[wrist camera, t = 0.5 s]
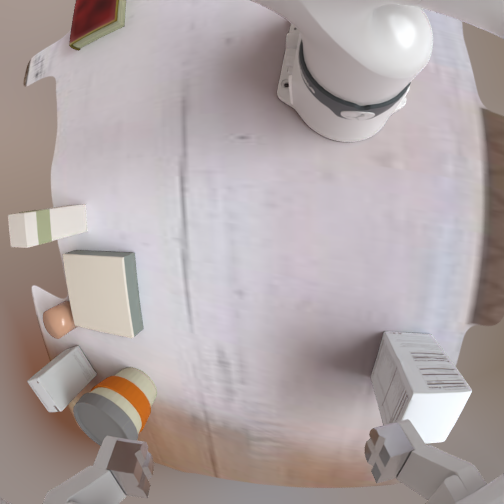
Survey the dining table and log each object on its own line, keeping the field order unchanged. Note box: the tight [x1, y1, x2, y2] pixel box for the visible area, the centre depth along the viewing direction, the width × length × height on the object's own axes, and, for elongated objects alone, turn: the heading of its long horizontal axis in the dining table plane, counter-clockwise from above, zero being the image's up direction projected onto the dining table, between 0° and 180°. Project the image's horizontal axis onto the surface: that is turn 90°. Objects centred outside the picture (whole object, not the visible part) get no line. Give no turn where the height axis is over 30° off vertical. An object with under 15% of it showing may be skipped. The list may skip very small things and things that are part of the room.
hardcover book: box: [69, 0, 126, 50], centre depth 37 cm, size 12×21×4 cm, turn 7°
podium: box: [63, 250, 143, 338], centre depth 49 cm, size 14×14×4 cm
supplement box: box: [371, 331, 472, 444], centre depth 35 cm, size 10×9×17 cm
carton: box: [8, 204, 87, 248], centre depth 42 cm, size 5×5×15 cm
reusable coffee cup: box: [73, 367, 157, 446], centre depth 47 cm, size 12×13×15 cm
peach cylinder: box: [43, 301, 78, 339], centre depth 51 cm, size 6×6×6 cm
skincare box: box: [27, 345, 97, 412], centre depth 49 cm, size 8×6×15 cm
